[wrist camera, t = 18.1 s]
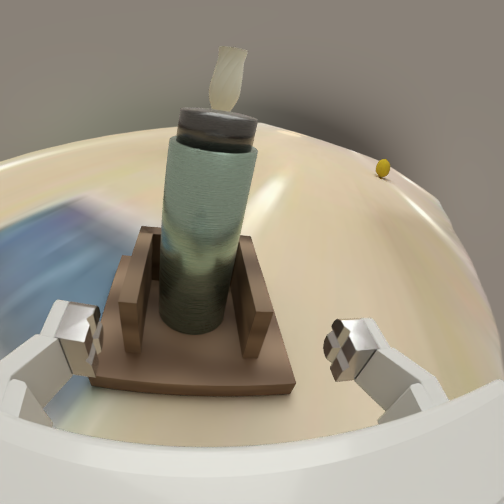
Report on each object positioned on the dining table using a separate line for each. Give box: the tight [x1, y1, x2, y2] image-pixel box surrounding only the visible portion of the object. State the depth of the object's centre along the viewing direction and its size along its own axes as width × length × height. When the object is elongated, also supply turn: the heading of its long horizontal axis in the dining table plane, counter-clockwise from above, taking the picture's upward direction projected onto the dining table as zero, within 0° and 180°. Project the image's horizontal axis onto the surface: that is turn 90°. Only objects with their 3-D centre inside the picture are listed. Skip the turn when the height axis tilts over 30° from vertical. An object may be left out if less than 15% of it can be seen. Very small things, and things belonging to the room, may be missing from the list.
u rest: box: [88, 226, 296, 396], centre depth 24 cm, size 15×15×6 cm
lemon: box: [376, 159, 390, 178], centre depth 104 cm, size 6×6×8 cm
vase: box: [209, 46, 248, 112], centre depth 69 cm, size 9×8×30 cm
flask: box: [159, 108, 258, 335], centre depth 21 cm, size 6×6×16 cm
